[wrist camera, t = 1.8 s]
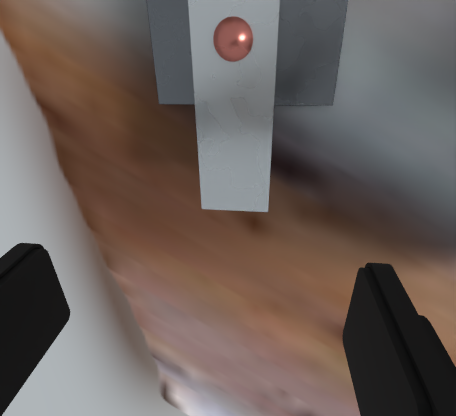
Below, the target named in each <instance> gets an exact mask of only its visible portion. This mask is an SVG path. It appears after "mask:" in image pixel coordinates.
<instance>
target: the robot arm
mask: <svg viewBox="0 0 456 416" xmlns="http://www.w3.org/2000/svg"><path fill="white" fill-rule="evenodd" d="M69 316H70V309H69V307H68V304H67V301H66V298H65V296H64V293H63V291H62V288H61V285H60V283H59V280H58V277H57V274H56V272H55V269H54V266H53V264H52V261H51V258H50V256H49V253H48V251H47V250H46V249H44V248H43V246H42V245H40V244H30V243H20V244H17V245H16V246H14V247H13V248H12V249H11V250H9V251H8V252H7V253H6V254H5V255H3V256H2V257H1V258H0V416H2V414H3V412H5V410H6V409H7V407H8V406H9V404H10V403H11V402H12V400H13V399H14V397H15V396H16V394H17V393H18V392H19V390H20V389H21V387H22V386H23V385H24V383H25V382H26V380H27V379H28V377H29V376H30V374H31V373H32V372H33V370H34V369H35V367H36V366H37V364H38V363H39V361H40V360H41V359H42V357H43V356H44V355H45V353H46V351H47V350H48V349H49V347H50V346H51V344H52V343H53V342H54V340H55V339H56V337H57V336H58V335H59V333H60V332H61V330H62V329H63V327H64V326H65V325H66V323H67V322H68V320H69ZM343 345H344V349H345V353H346V357H347V361H348V366H349V370H350V374H351V378H352V382H353V386H354V390H355V394H356V398H357V402H358V406H359V411H360V415H361V416H456V367H455V365H454V364H453V362H452V360H451V358H450V356H449V355H448V353H447V351H446V349H445V348H444V346H443V344H442V342H441V341H440V339H439V337H438V335H437V334H436V332H435V330H434V328H433V326H432V325H431V323H430V322H429V320H428V319H427V318H426V317H424V316H421V315H418V313H417V311H416V309H415V308H414V306H413V304H412V302H411V300H410V298H409V296H408V295H407V293H406V291H405V289H404V287H403V285H402V283H401V282H400V280H399V278H398V276H397V274H396V272H395V271H394V269H393V267H392V266H391V265H390V264H382V263H367V264H366V266H365V268H359V270H358V273H357V277H356V281H355V285H354V289H353V294H352V298H351V302H350V306H349V310H348V314H347V318H346V322H345V326H344V330H343Z"/></svg>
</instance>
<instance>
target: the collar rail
mask: <svg viewBox="0 0 456 416" xmlns="http://www.w3.org/2000/svg"><path fill="white" fill-rule="evenodd" d="M347 4H348V0H280V5H279V23H278V41H277V59H276V77H275V95H274V105H333V100H334V93H335V86H336V80H337V73H338V66H339V59H340V52H341V45H342V39H343V32H344V25H345V18H346V11H347ZM147 8H148V16H149V25H150V33H151V41H152V50H153V58H154V66H155V74H156V83H157V91H158V99H159V104H195V98H194V83H193V68H192V53H191V38H190V23H189V7H188V0H147Z"/></svg>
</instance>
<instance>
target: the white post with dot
mask: <svg viewBox="0 0 456 416" xmlns="http://www.w3.org/2000/svg"><path fill="white" fill-rule="evenodd" d="M279 5H280V0H188V7H189V23H190V38H191V53H192V68H193V83H194V98H195V114H196V129H197V144H198V159H199V174H200V189H201V204H202V209H213V210H234V211H255V212H268V203H269V185H270V167H271V149H272V131H273V113H274V95H275V77H276V59H277V41H278V23H279Z"/></svg>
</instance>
